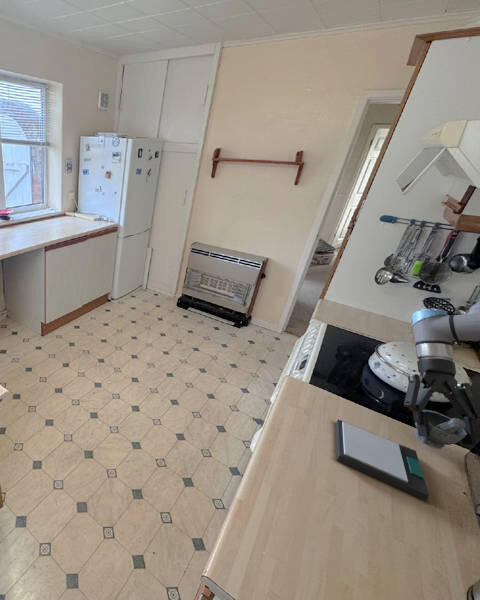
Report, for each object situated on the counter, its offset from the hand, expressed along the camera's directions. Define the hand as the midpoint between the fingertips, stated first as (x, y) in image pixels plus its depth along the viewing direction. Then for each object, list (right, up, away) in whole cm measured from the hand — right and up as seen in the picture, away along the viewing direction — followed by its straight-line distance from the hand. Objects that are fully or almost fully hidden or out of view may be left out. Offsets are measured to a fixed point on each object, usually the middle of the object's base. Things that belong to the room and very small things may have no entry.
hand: (446, 440), depth 88 cm
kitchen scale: (-19, -5, +1) cm, 20 cm away
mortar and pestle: (0, -2, +5) cm, 5 cm away
